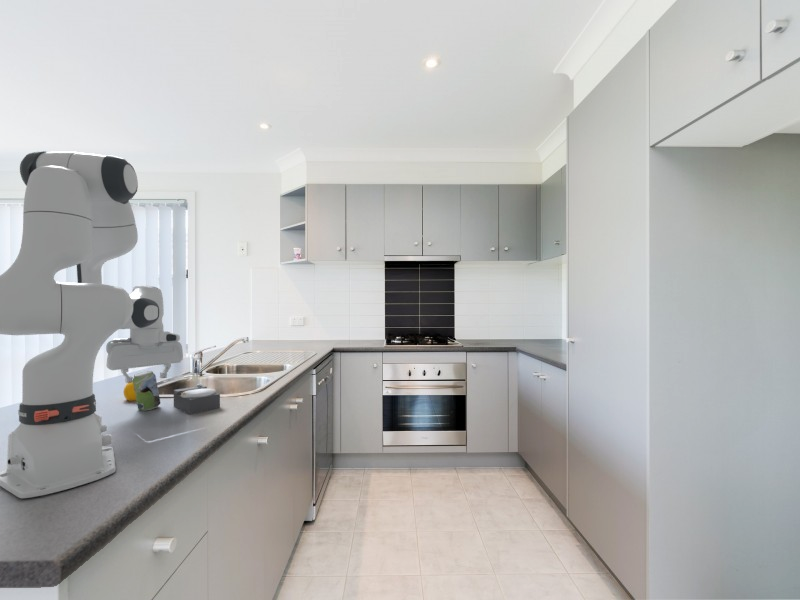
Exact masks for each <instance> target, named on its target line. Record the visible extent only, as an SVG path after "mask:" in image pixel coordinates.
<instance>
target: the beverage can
mask: <svg viewBox="0 0 800 600" xmlns="http://www.w3.org/2000/svg"><path fill="white" fill-rule="evenodd" d="M132 380H133V385H134V390H135V395H136V405H137V410H139V411H142V412H143V411H144V412H145V411H151V410H154V409H156V408H158V407H159V405H161V398H160V393H159V388H158V382H157V376H156V374H155V373H154V371H152V370H146V371H143V372H139V373H135V374H134V376H133V379H132Z"/></svg>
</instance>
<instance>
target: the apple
mask: <svg viewBox="0 0 800 600" xmlns="http://www.w3.org/2000/svg"><path fill="white" fill-rule="evenodd" d="M123 396H124V398H125V399H126V400H127V401H129V402H135V401H136V395H135V390H134V385H133V382H132V383H126V384H125V386H124V388H123ZM136 402H137V401H136Z"/></svg>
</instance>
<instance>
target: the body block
mask: <svg viewBox="0 0 800 600" xmlns="http://www.w3.org/2000/svg"><path fill="white" fill-rule="evenodd" d="M207 387H208V386H205V385H203V383H197V384H196V386H192V387H184V388H178V389H174V390H173V408H175V409H177V410H180V411H181V412H183V413H186V414H187V415H194V414H198V413H200V414H201V413H205V412H208V411H211V410H217V409H220V408H221V393H219V392H218V393H217V392H216V389H215V388H207Z"/></svg>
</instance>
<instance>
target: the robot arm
mask: <svg viewBox="0 0 800 600" xmlns="http://www.w3.org/2000/svg"><path fill="white" fill-rule="evenodd" d="M19 173H20V177H21V179H22V182H23V183H24V185H25V186H26V187H25V193H24V197H23V198H24V199H23V213H22V215H23V216H22V233H21V235H22V236H21V243H20V249H19V252H18V253H17V254H18V255H17V257H16V259H15V260H14V262H13V263H12V264H11V265H10V267H9V268H8V269H7V270H6V271H4V272H2V274H1V275H0V335H5V336H33V335H54V334H57V335H58V334H60V335H63V336H64V338H63V341H62V342H61V343H60V344H59V345H57V346H56V347H53V348H51V349H49V350H46V351H44V352H41V353H39V354H37V355H36V356H34V357H32V358H31V359H29V360H28V361H27V362H26V363H25V365H24V366H23V369H22V378H21V379H22V381H21V382H22V384H21V386H22V387H21V388H22V392H21V393H22V394H21V395H22V398H21V399H22V402H21V403H20V404H19V407H18V410H17V411H18V422H19V423H20V424H18V425H17V427H16V428H15V429H14V430H13V431H12V432H10V433H9V434H8V437H7V457H6V469H4V470H2V471H0V487H1V488H3V489H4V490H5V491H7V492H9V493H11V494H12V495H14V496H15V497H17V498H19V499H28V498H36V497H39V496H40V497H41V496H46V495H51V494H54V493H58V492H61V491H65V490H69V489H72V488H76V487H79V486H82V485H85V484H88V483H92V482H95V481H99V480H100V479H103V478H106V477H107V476H110V475H112V474H114V473H115V472H117V468H116V457H115V450H114V447H113V446H111V445H112V442H113V441H112V440H113V439H112V434H111V433H107V434H103V435H102V433H105V432H107V430H108V429H107V427H108V426H107V424H105V425H102V421H103V420H102V416H100V415H98V414H97V413H96V412H97V408H96V407H97V406H96V405H97V402H96V401H97V400H96V395H95V393H93V392H94V390H93V387H94V384H93V383H94V372H95V371H94V370H95V365H96V359H97V356H98V354H99V352H100V350H101V349H102V346H103V345H104V344H105V342H106V341H107V340H108V339H109V338H110V337H111V336H113V334H114V333H116V332H117V331H119V330H129V337H126V338H113V339H112V340H110V341H108V342H107V344H106V348H105V349H106V353H107V358H106V368H107V369H108V370H111V371H119V370H120V373H121V374H122V375H123V376H124V378H125V379H124V380H125V384H128V383H132V382H133V378H134V376H129V375H128V372H129V369H135V368H145V367H153V366H155V367H156V366H163V367H164V369H163V371H162V372H159V378H160V379H167V378H168V372H169V370H170V369H171V367H172V364H178V363H181V362H182V361H183V360H184V352H183V346H182V343H181V342H179V341H180V339H181V336H180V335H179V334H177V333H172V332H170V331H164V323H163V316H164V314H165V313H164V308H165V307H164V298H163V293H162V290H161V289H160V288H159V287H156V286H151V285H136V286H134V287H132V292H131V293H130V294H129V293H128V291H127V290H125V289H124V288H122V287H119V286H114V285H109V284H103V281H102V279H103V278H102V268H103V266H104V264H105V263H106V262H108V261H110V260H113V259H117V258H120V257H121V256H124V255H126V254H128V253H130V252H131V251H132V250H133V249H134V248H135V246H137V243H138V238H139V237H138V229H137V223H136V219H135V214H134V212H133V207H132V205H131V202H130V200H132V199H133V198H134V196H135V195H136V194H137V192H138V189H139V188H138V187H139V183H138V182H139V181H138V177H137V173H136V170H135V169H134V167H133V165H132V164H131V163H130V162H129V161H128V160H127V159H125V158H122V157H120V156H119V157H118V156H114V155H110V154H108V155H107V154H106V155H102V154H95V153H87V152H86V153H85V152H79V151H50V152H49V151H46V150H45V151H44V150H43V151H34V152H30V153H28V154H26V155H25V156H24V158H23V159H22V160H21V162H20V164H19ZM75 266H76V277H77V282H60V281H56V280H55V275H56V274H57V273H58V272H60V271H62V270H64V269H68V268H71V267H75Z"/></svg>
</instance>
